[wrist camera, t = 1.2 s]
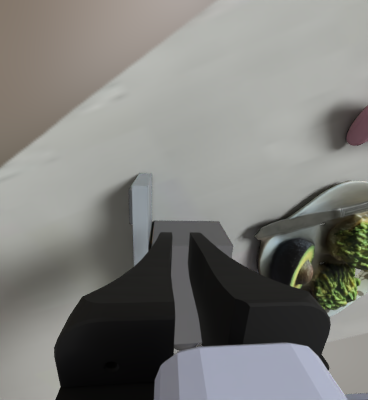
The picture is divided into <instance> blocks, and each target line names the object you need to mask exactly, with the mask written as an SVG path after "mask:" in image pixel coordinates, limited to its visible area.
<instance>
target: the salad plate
mask: <svg viewBox="0 0 368 400" xmlns="http://www.w3.org/2000/svg"><path fill="white" fill-rule="evenodd" d="M324 222H325V224H324V225H320V224H322V223H324ZM254 237H255V238H257V239H258V240H261V245H260V248H259V253H258V260H257V264H258V266H257V267H258V271H259V274H260V275H263V276H265V277H267V278H270V279H272V280H275V281H277V282H280V283H283V284H286V285H289V286H292V287H295V288H299V289H302V290H305V291H308V292H309V293H310V294H311V295H312V296H313V297H314V298H315V299H316V301H317V302H318V303H319V304H320V305H321V306H322V307H323V308H324V310H325V311H326V312H327V314H328V316H329V317H331V316H333V315H335V314H337V313H339V312H340V311H342V310H343V309H344V308H346V307H347V306H349V305H350V304H351V303H353V302H354V301H356V300H357V299H359V298H360V297H362V296H364V295H365V294H366V293H367V292H368V182H366V181H345V182H343V183H340V184H337V185H336V186H334V187H332V188H330V189H328V190H326V191H324V192H323V193H321V194H320V195H318V196H317V197H315V198H314V199H313V200H312V201H310V202H309V203H308V204H306V205H305V206H303V207H302V208H301V209H299V210H298V211H297V212H295V213H294V214H293V215H291V216H289V217H288V218H286V219H282V220H279V221H276V222H273V223H271V224H269V225H266V226H264V227H262V228H261V229H260V230H259V232H258V233H257V234H256V235H255V236H254ZM321 262H325V263H324V264H320V263H321ZM355 268H357V269H361V270H362V271H361V272H360V273H359V274H358V275H356V276H355V270H356V269H355ZM354 276H355V277H354Z"/></svg>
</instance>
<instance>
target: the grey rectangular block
mask: <svg viewBox="0 0 368 400" xmlns="http://www.w3.org/2000/svg"><path fill="white" fill-rule="evenodd" d="M161 232H172V236H173V239H172V264H171V280H172V288H173V295H174V301H175V335H174V348H175V349H177V350H180V351H182V350H186V349H190V348H194V347H195V346H196V345H197V344H198V343H202V339H201V331H200V324H199V318H198V313H197V309H196V305H195V300H194V296H193V292H192V288H191V283H190V279H189V271H188V252H189V237H190V232H199V233H202V234H203V235H204V236H205V237H206V238H207V239H208V240H209V241H210V242H211V243H213V244H214V245H215V246H216V247H217V248H218V249H220V250H221V251H222V252H223V253H225V254H226V255H227V256H229V257H230V258H231V257H232V250H233V244H232V243H231V241H230V239H229V238H228V236H227V234H226V233H225V231H224V229H223V228H222V226H221V224H220V222H214V221H155V222H154V229H153V237H152V246H153V244H154V243H155V241H156V240H157V238H158V236H159V234H160V233H161Z"/></svg>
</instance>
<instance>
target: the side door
mask: <svg viewBox="0 0 368 400" xmlns="http://www.w3.org/2000/svg"><path fill="white" fill-rule="evenodd" d="M129 217H130V224H133V249H134V266H135V265H136V264H137V263H138V262H139V261H140V260H141V259H142V258H143V257H144V256H145V255H146V254H147V252H148V251H149V250H150V249H151V247H152V174H147V173H139V175H138V176H137V178H136V180H135V181H134V182H133V184H132V185H131V187H130V189H129Z"/></svg>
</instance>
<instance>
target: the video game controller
mask: <svg viewBox="0 0 368 400" xmlns="http://www.w3.org/2000/svg"><path fill="white" fill-rule="evenodd" d="M346 140H347V142H348V143H349V144H350V145H353V146H356V145H361V144H363V143H365V142H367V141H368V106H367V107H366V108H365V109H364V110H363V111H362V112H361V113H360V114H359V116H358V117H357V118H356V119H355V121H354V122H353V124H352V125H351V127H350V129H349V131H348V133H347V138H346Z"/></svg>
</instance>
